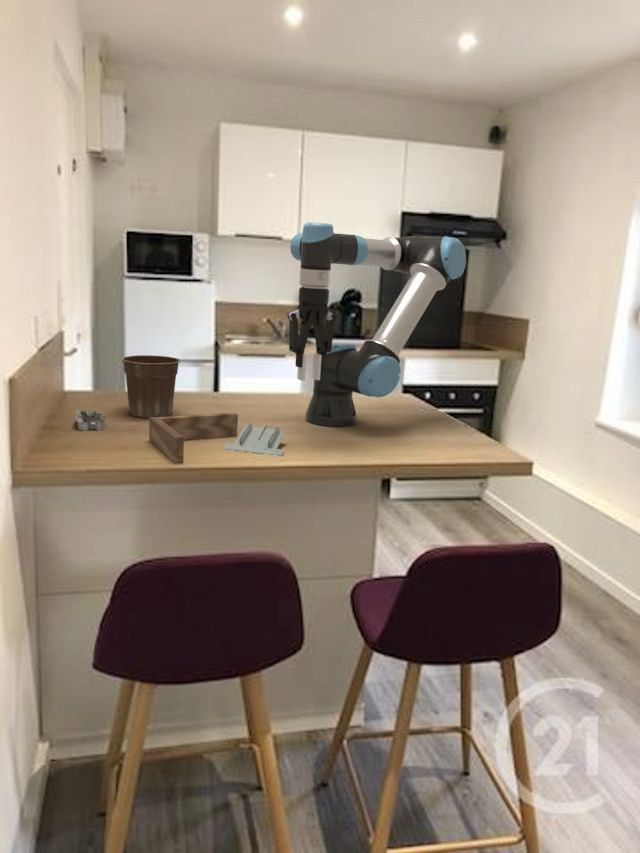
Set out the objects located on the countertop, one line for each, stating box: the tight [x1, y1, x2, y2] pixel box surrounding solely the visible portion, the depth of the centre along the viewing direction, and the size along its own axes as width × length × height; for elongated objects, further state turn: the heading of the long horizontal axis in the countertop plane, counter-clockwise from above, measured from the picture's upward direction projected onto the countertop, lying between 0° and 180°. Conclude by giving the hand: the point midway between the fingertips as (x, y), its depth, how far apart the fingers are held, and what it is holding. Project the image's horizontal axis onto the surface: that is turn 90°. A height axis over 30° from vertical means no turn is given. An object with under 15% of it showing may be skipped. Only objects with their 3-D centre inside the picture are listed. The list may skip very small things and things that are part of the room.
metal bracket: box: [222, 422, 287, 457], centre depth 173 cm, size 14×6×15 cm
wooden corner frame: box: [148, 412, 239, 464], centre depth 169 cm, size 23×20×6 cm
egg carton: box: [75, 409, 106, 432], centre depth 182 cm, size 11×8×4 cm
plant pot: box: [121, 354, 181, 419], centre depth 198 cm, size 16×16×16 cm
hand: (308, 379), depth 177 cm, fingers open, 4 cm apart
